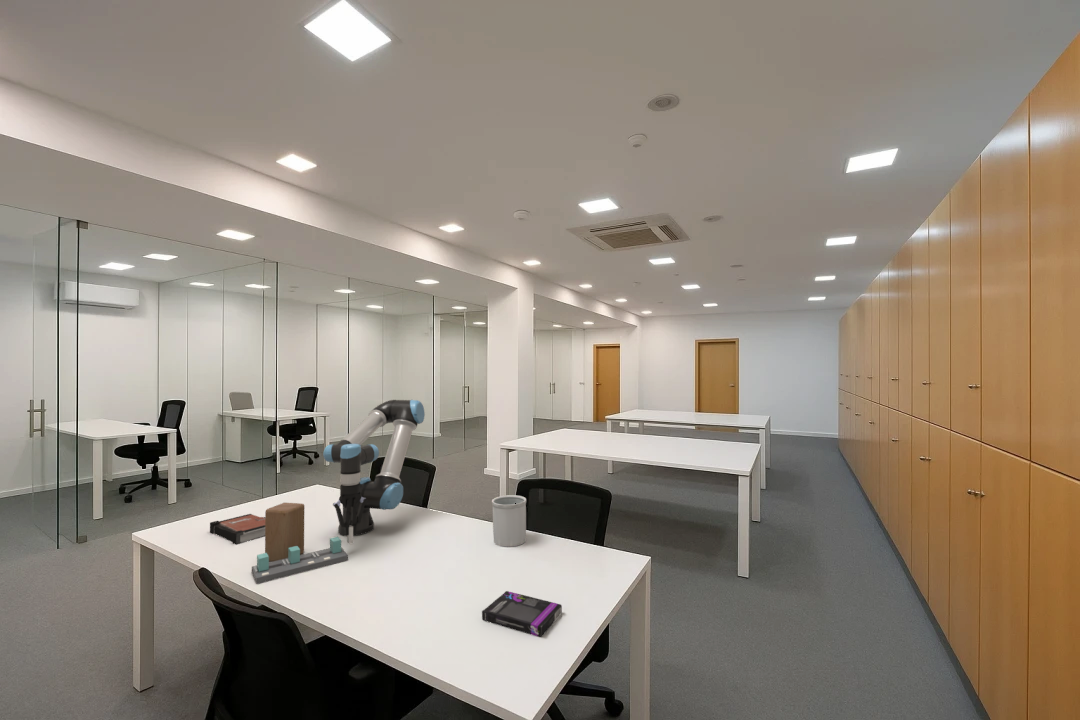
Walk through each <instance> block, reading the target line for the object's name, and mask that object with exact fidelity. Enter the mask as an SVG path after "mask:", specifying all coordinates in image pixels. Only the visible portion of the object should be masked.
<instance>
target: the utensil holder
mask: <svg viewBox="0 0 1080 720" xmlns="http://www.w3.org/2000/svg"><path fill="white" fill-rule="evenodd" d="M515 503H516V504H515ZM526 505H527V498H526V497H524V496H522V495H515V494H507V495H500V496H497V497H495V498H492V500H491V506H492V529H493V530H492V533H493V544H495V545H496V546H500V547H504V548H505V547H507V548H508V547H518V546H521V545H523V544H524V543H526V541H527V507H526Z"/></svg>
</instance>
